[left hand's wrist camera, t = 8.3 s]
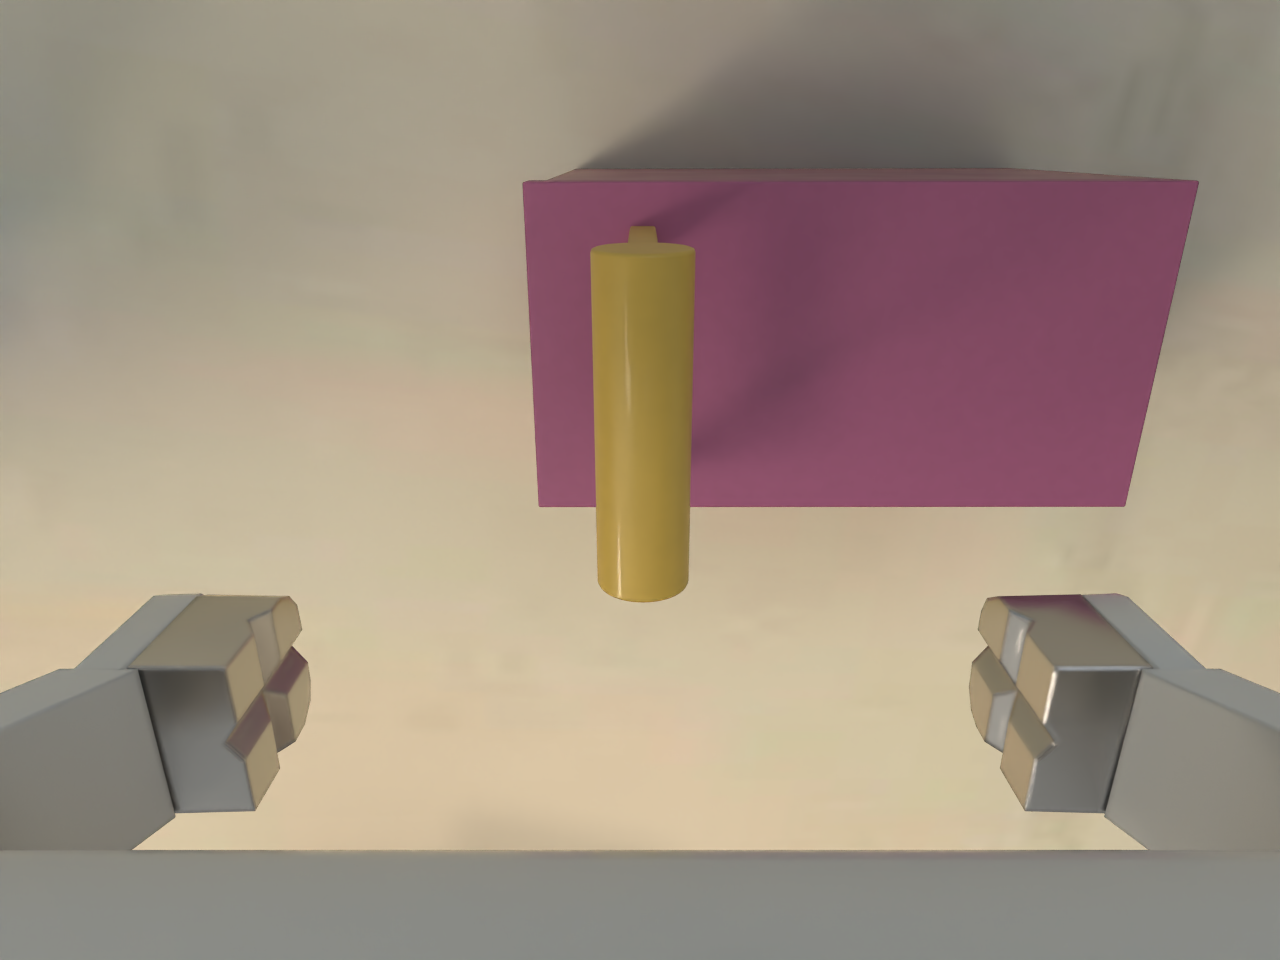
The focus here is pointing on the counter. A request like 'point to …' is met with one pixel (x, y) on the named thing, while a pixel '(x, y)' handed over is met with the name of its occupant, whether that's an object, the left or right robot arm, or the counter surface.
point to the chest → (833, 174)
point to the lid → (838, 347)
